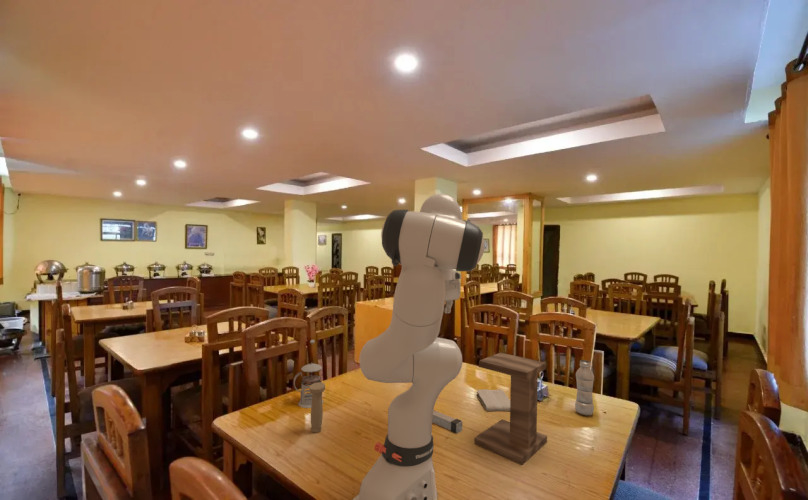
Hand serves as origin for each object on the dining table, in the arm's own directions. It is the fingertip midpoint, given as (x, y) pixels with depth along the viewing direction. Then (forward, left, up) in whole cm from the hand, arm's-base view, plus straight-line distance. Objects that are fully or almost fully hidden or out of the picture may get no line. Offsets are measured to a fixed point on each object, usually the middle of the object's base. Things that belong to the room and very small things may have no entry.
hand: (439, 314), depth 124 cm
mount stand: (+9, -23, -39) cm, 46 cm away
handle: (-31, +27, -39) cm, 57 cm away
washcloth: (+34, -3, -40) cm, 52 cm away
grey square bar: (+3, +4, -39) cm, 39 cm away
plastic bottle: (+49, -33, -39) cm, 71 cm away
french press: (-21, +48, -39) cm, 66 cm away
